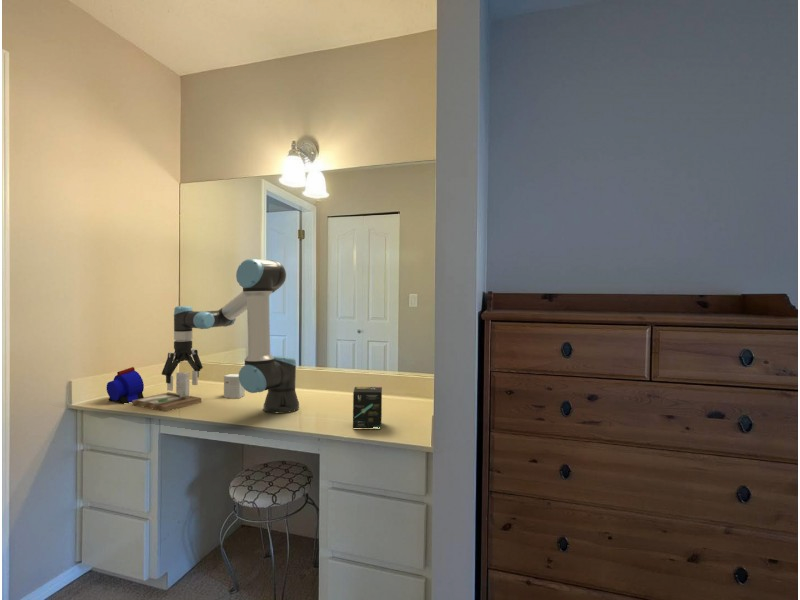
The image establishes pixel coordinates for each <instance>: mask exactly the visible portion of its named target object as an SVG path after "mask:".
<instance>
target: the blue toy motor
mask: <svg viewBox="0 0 800 600" xmlns="http://www.w3.org/2000/svg"><path fill="white" fill-rule="evenodd" d="M116 373H117V374H116V375H115V376H114V378H113V380H110V381H108V382H107V383H106V392H107V395H108V397H109V398H108V400H109V401H114V402H115V401H120V403H121V404H123V405H125V404H124V403H128V404H130V403H129V402H132V400H136V399H141V398H145V396H144V394H143V392H144V389H145V386H144V380H143V378H142V376H141V375H140V373H139V372H138V371H136V369H135V367H134V366H131V367H129V368H125V369H123V370H120V371H117V372H116Z"/></svg>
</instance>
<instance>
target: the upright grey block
mask: <svg viewBox="0 0 800 600" xmlns="http://www.w3.org/2000/svg"><path fill="white" fill-rule="evenodd" d="M175 374H176V375H175V376H176V379H175V381H176V386H175V390H176V392H175V393H176V394H173V393H174V392H170V393H167V392H166V393H167V395H171V396H177V397H180V398H184V397H186V396H190V372H189V373H188V372H180V371H179V372H176V373H175Z"/></svg>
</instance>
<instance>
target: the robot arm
mask: <svg viewBox="0 0 800 600" xmlns="http://www.w3.org/2000/svg"><path fill="white" fill-rule="evenodd" d="M235 277H236V282H237V283H238V285H239V286H240V287H242V292H240V293H239V294H237V295H236V296H235V297H234V298H233V299H231V300H230V301H229V302H228V303H226V304H225V305H224V306H222V307H221V308H220V309H218V310H207V311H206V310H205V311H203V310H202V311H201V310H200V311H194V310H193V306H191V305H190V306H189V305H183V306H181V305H180V306H175V307H174V309H173V310H174V312H173V340H174V341H173V349H174V352H168V353H167V358H166V361H165V363H164V366H163V368H162V372H161V375H162V376H165V384H167V385H166V388H167V391H168V392H170V391H171V392H172V391H174V375H173V374H174V372H175V370H176V369H177V367H178V365H179V364H180V363H181V362H184V361H185V362H187V363H188V364H189V366H190V367H191V368H192V369H193V370H192V372H191V373H192V375H191V378H192V379H191V384H192V386H198V383H199V382H198V381H199V379H198V378H199V377H200V376H199V375H200V372H201V370H202V369H203V367H204V366H203V364H202V362H201V359H200V357H199V354H198V349H193V329H199V330H208V329H211V328H218V327H219V328H220V327H223V328H224V327H225V328H226V327H229V326H232V325H234V323H235V322H236V319H237V317H239V316H240V315H242V314H243V313H244V312H245V311H247V313H246V316H247V349H248V351H247V352H248V353H247V354H248V355H247V356H246V357H245V358H244V366H242V367H241V368H240V370H239V372H238V374H239V381H240V384H241V386H242V387H244V389H245V391H246V392H248V393H250V394H256V393H262V392H265V391H267V393H266V397H265V400H264V402H263V411H264V412H266V411H267V412H266V413H269V412H288V413H290V412H289V411H293V412H295V411H294V410H296V411H298V410H299V409H300V402H299V399H298V396H297V392H296V373H297V372H296V371H297V370H296V369H297V365H296V359H295V357H291V356H284V355H283V356H282V355H281V356H280V355H279V356H278V355H272V354H271V336H270V335H271V331H270V329H271V328H270V327H271V326H270V295H271V294H273V293H275V292H276V291H277V290H279V289H280V288H282V286H283V285H284V284H285V281H286V279H287V271H286V269H285V266H283V264H282V263H280V262H278V261H276V260H269V259H268V260H267V259H261V258H248V259H247V258H246V259H244V260H243V261H241V263H240V264H239V265H238V267H237V270H236V274H235ZM298 408H299V409H298ZM297 409H298V410H297Z"/></svg>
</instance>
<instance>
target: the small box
mask: <svg viewBox="0 0 800 600" xmlns="http://www.w3.org/2000/svg"><path fill="white" fill-rule="evenodd" d="M245 391H246V390H245V389H244V387H242V386H241V384H240V381H239V373H236V374H235V373H229V374H226V375H224V376H223V397H224V398H226V399H240V397H241V398H242V396H243V397H245V396H246V395H245V394H246V393H245Z"/></svg>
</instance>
